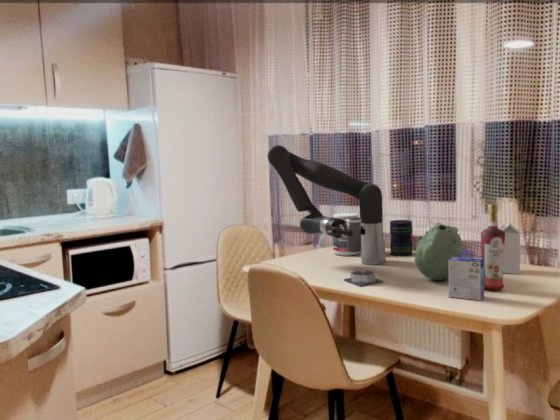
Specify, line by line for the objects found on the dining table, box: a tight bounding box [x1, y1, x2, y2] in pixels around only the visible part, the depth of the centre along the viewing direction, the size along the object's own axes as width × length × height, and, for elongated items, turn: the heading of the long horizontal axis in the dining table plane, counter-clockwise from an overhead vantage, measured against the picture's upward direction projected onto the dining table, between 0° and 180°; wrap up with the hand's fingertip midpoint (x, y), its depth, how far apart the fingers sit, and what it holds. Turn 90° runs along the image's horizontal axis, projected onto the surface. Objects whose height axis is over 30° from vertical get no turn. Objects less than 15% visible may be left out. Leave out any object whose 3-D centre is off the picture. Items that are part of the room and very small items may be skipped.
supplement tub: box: [332, 212, 361, 257], centre depth 225 cm, size 13×13×18 cm
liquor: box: [480, 203, 505, 292], centre depth 158 cm, size 7×7×28 cm
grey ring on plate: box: [343, 269, 384, 287], centre depth 176 cm, size 10×10×3 cm
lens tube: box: [346, 216, 361, 253], centre depth 177 cm, size 5×5×12 cm
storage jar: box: [389, 219, 414, 257], centre depth 218 cm, size 10×10×15 cm
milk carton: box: [498, 219, 521, 275], centre depth 179 cm, size 7×7×19 cm
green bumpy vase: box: [414, 222, 464, 281], centre depth 173 cm, size 16×19×20 cm
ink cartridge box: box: [448, 250, 485, 301], centre depth 152 cm, size 10×6×14 cm, turn 58°
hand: (357, 232), depth 175 cm, fingers closed on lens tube, 5 cm apart
